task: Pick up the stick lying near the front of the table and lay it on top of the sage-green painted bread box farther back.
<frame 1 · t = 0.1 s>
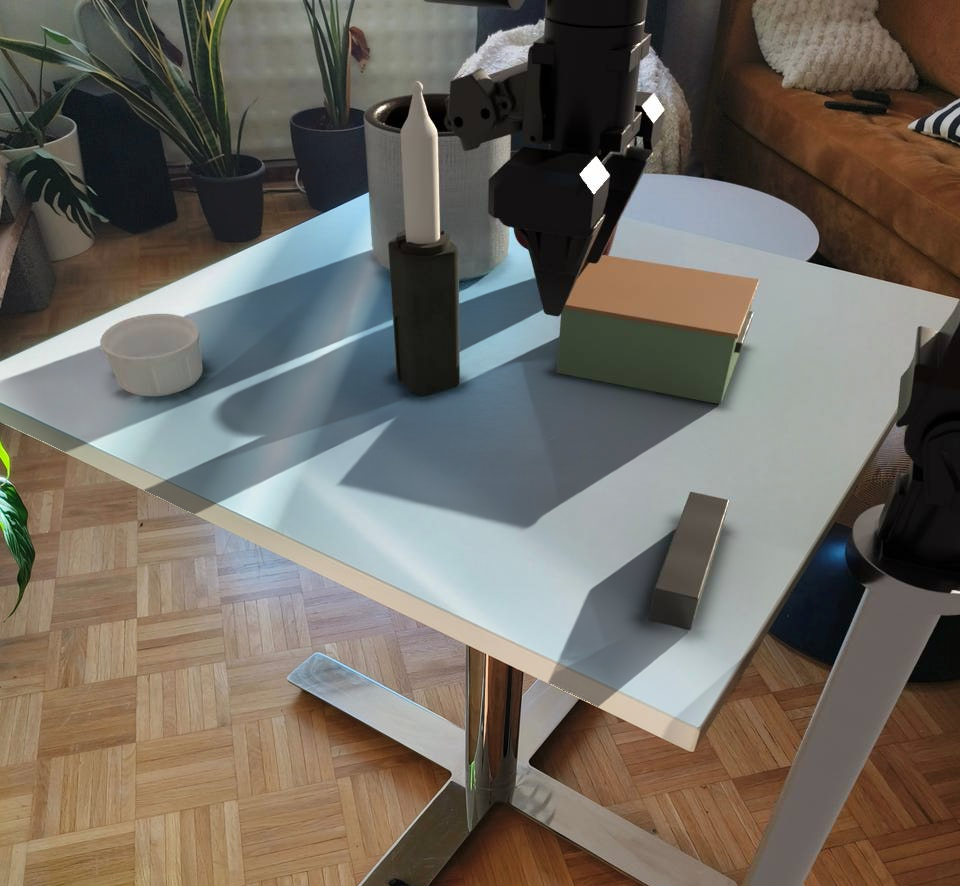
hand: (572, 287, 62), 17 cm above the table, tool pointing down, fingers open, 9 cm apart
ramekin: (161, 379, 86), on the table
planter: (440, 260, 106), on the table
stick: (686, 573, 66), on the table
bread box: (651, 360, 89), on the table
candle: (428, 382, 86), on the table
mug: (564, 277, 103), on the table
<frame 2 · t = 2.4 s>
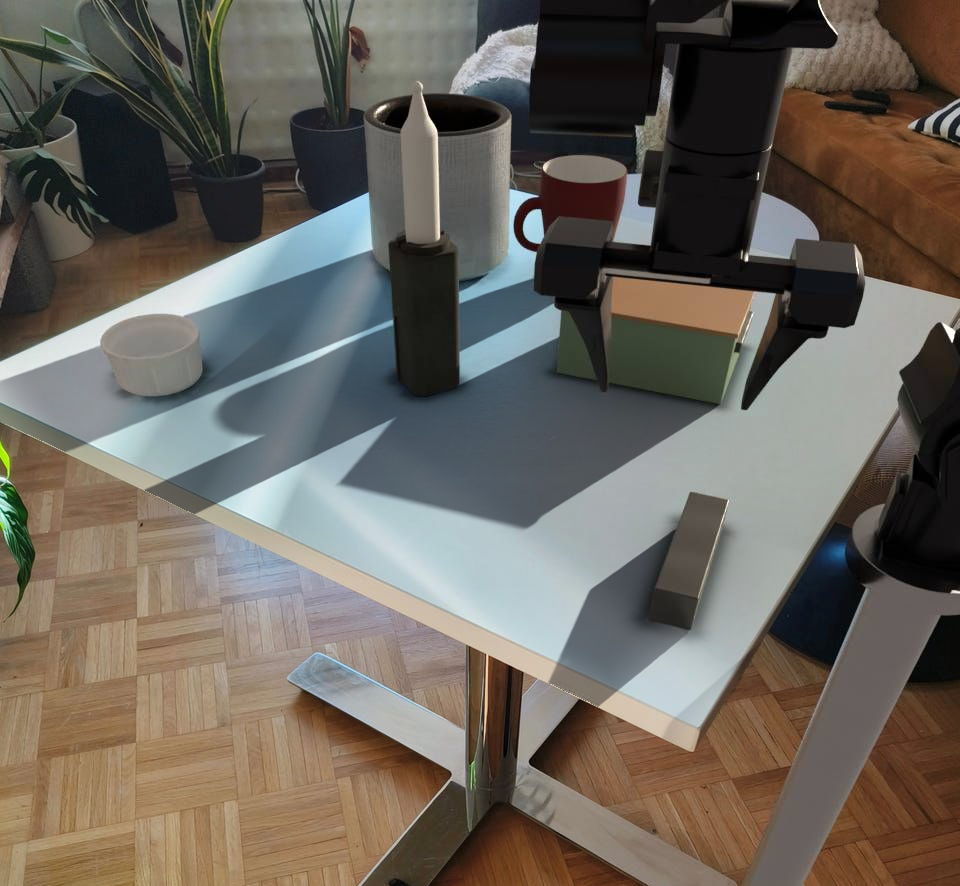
hand: (673, 398, 59), 13 cm above the table, tool pointing down, fingers open, 9 cm apart
nothing on the table moved.
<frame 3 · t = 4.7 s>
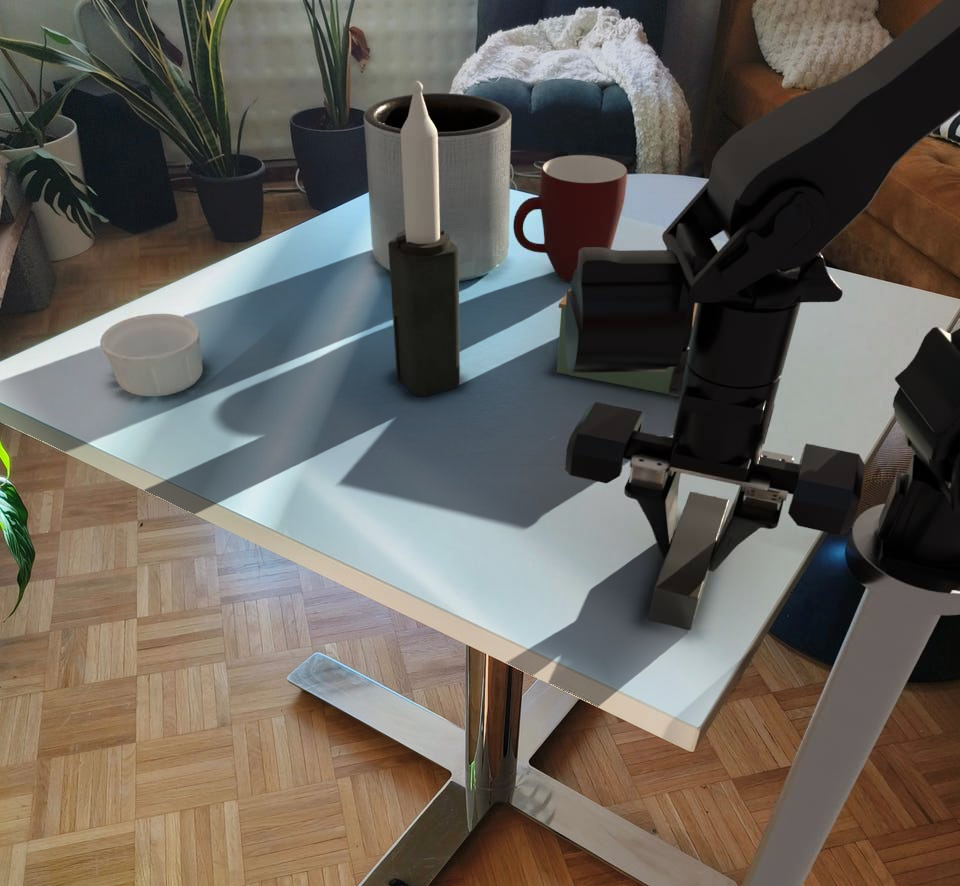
hand: (689, 562, 65), 1 cm above the table, tool pointing down, fingers closed on stick, 3 cm apart
stick: (686, 573, 66), on the table, touching gripper
everything else where it was.
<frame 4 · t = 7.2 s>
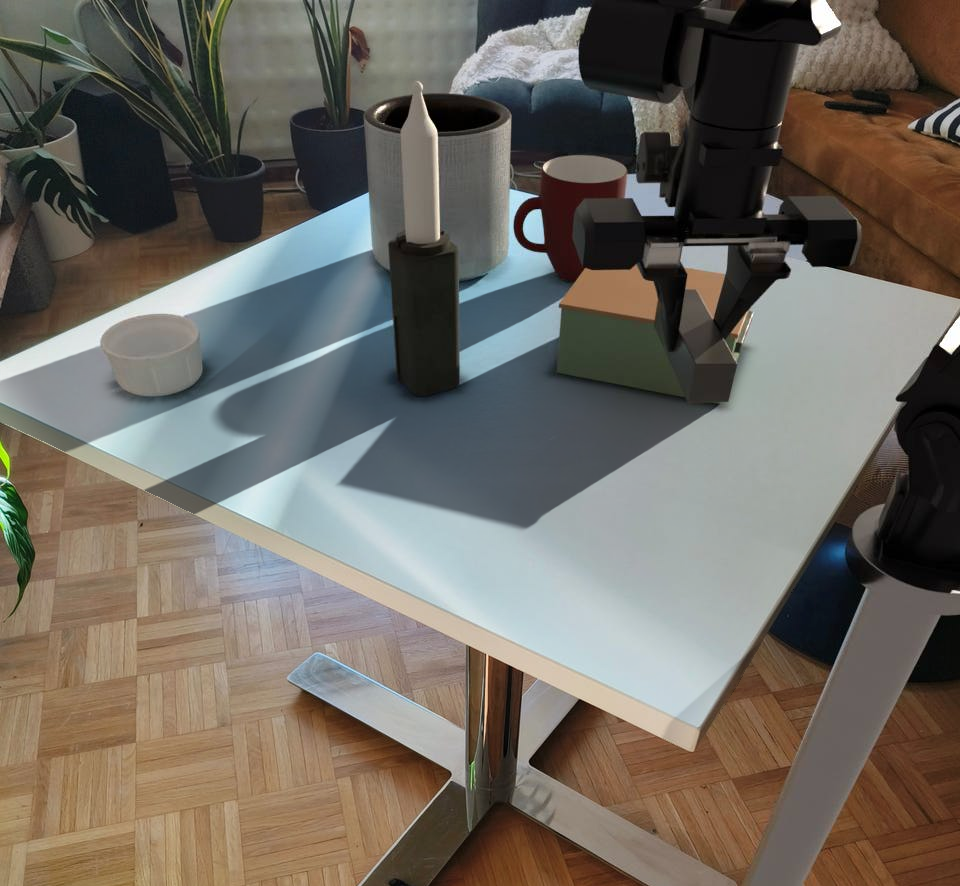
hand: (691, 348, 67), 11 cm above the table, tool pointing down, fingers closed on stick, 3 cm apart
stick: (688, 361, 68), point 10 cm above the table, touching gripper
everything else where it was.
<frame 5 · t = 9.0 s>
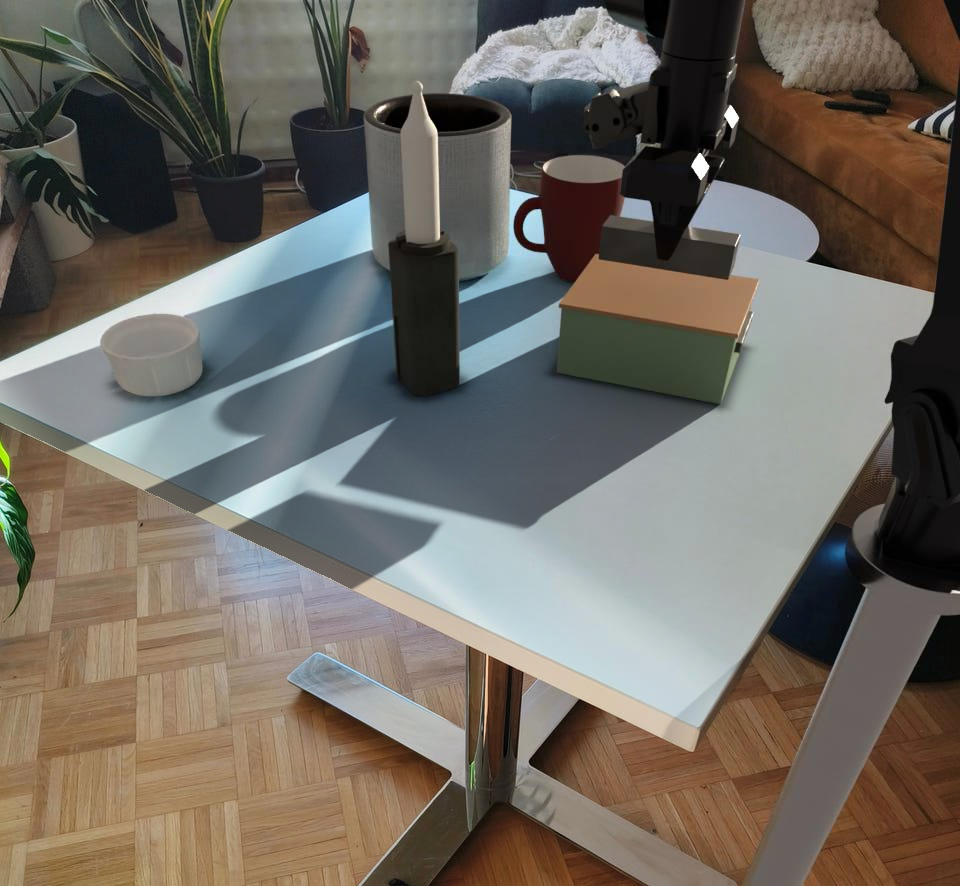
hand: (667, 252, 81), 11 cm above the table, tool pointing down, fingers closed on stick, 3 cm apart
stick: (665, 263, 82), point 10 cm above the table, touching gripper
everything else where it was.
when the fingers open (8 cm above the table, at t = 10.0 s): stick stays where it is, resting on bread box.
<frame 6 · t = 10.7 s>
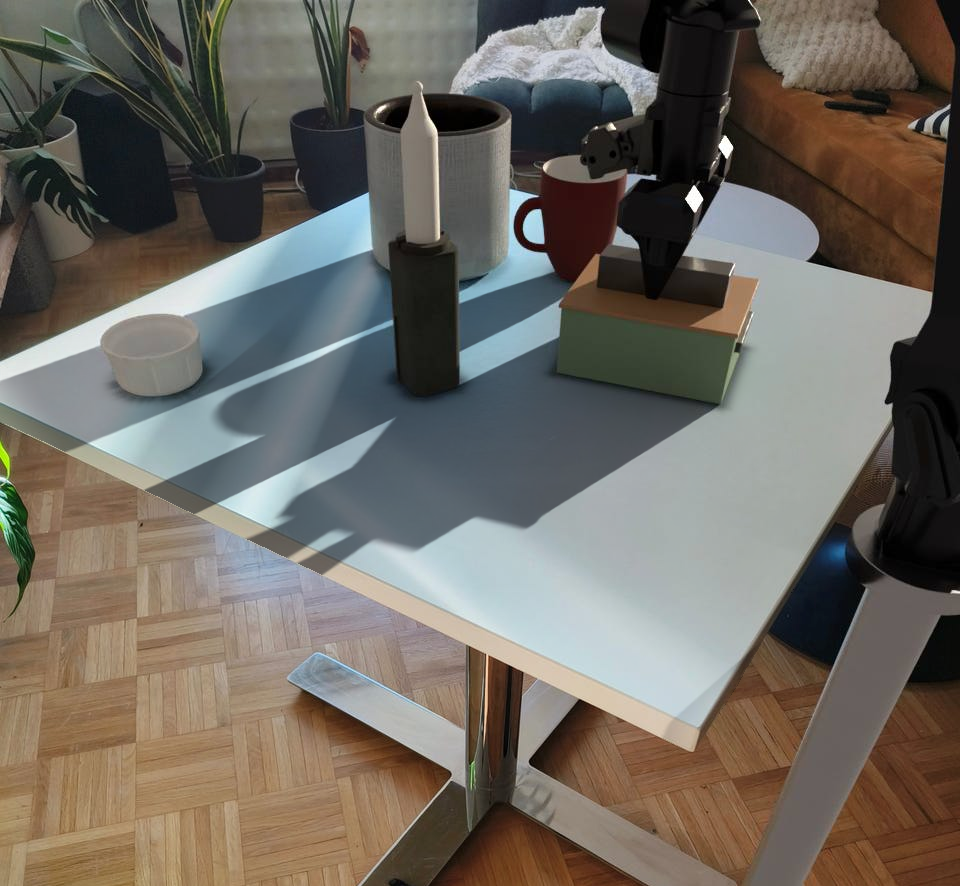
hand: (663, 278, 83), 8 cm above the table, tool pointing down, fingers open, 9 cm apart
stick: (662, 291, 84), point 7 cm above the table, touching bread box
everything else where it was.
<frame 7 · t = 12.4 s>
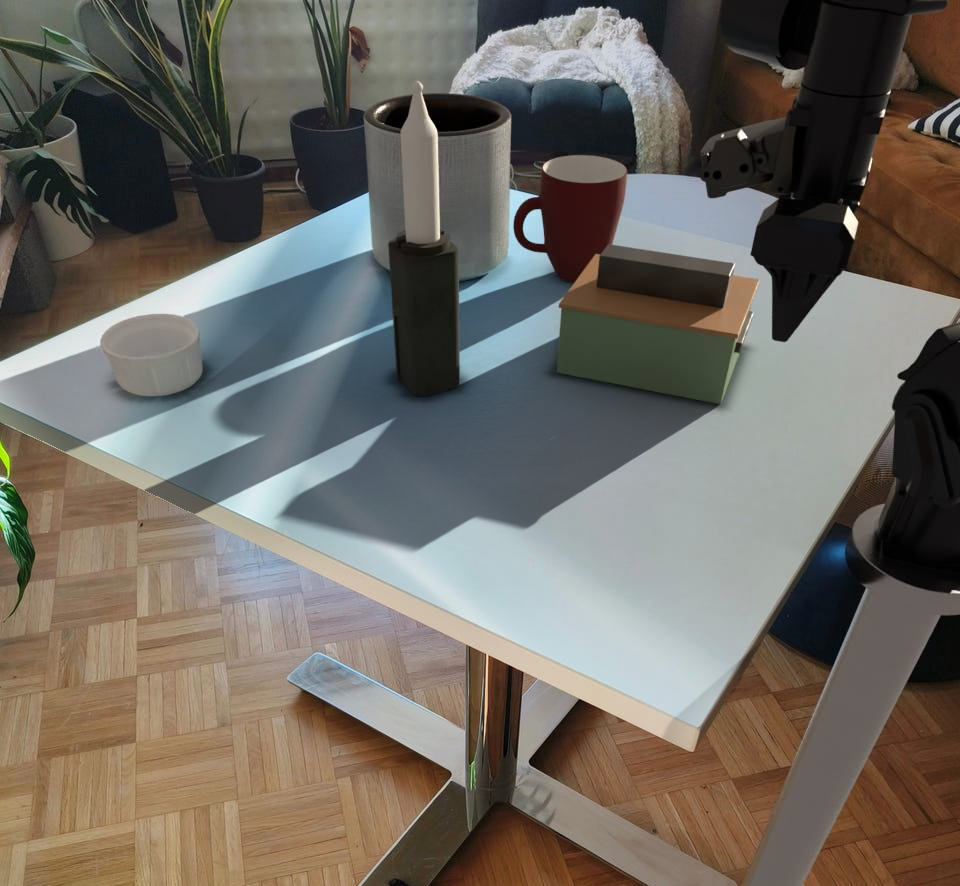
hand: (787, 315, 70), 12 cm above the table, tool pointing down, fingers open, 9 cm apart
nothing on the table moved.
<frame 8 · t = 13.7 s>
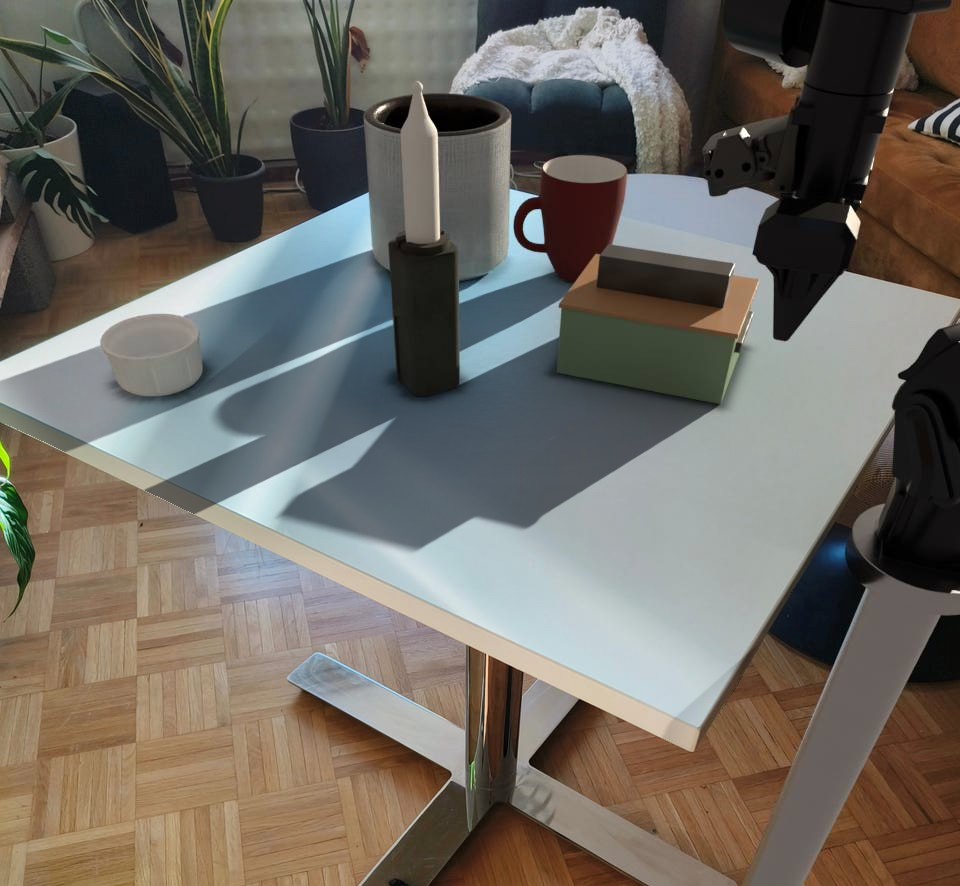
hand: (788, 314, 70), 12 cm above the table, tool pointing down, fingers open, 9 cm apart
nothing on the table moved.
at the end: stick inside the target area on the bread box (0.1 cm from its centre), point 7.0 cm above the bread box's base; stick touching bread box; the gripper is holding nothing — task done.
